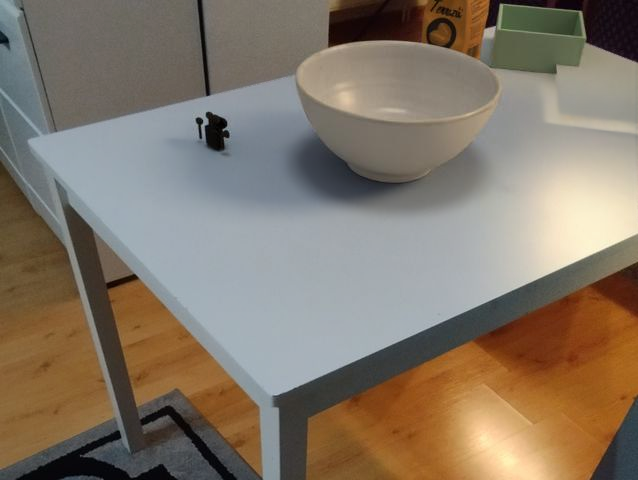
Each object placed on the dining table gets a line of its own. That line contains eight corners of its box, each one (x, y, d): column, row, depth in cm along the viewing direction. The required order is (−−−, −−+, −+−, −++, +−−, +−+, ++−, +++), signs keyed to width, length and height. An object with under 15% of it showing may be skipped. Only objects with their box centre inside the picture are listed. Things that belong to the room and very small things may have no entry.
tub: (572, 46, 133) (581, 11, 128) (576, 76, 122) (586, 38, 117) (493, 38, 135) (500, 3, 130) (490, 67, 124) (497, 29, 120)
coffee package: (406, 76, 120) (422, -68, 105) (436, 55, 128) (455, -82, 113) (458, 89, 116) (483, -58, 101) (486, 66, 124) (512, -73, 109)
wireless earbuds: (195, 141, 100) (191, 107, 97) (208, 135, 102) (205, 102, 98) (227, 157, 97) (224, 123, 93) (240, 151, 98) (238, 117, 95)
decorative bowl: (277, 128, 104) (276, 46, 95) (441, 113, 109) (453, 34, 101) (322, 223, 85) (324, 131, 77) (517, 199, 90) (540, 110, 82)
